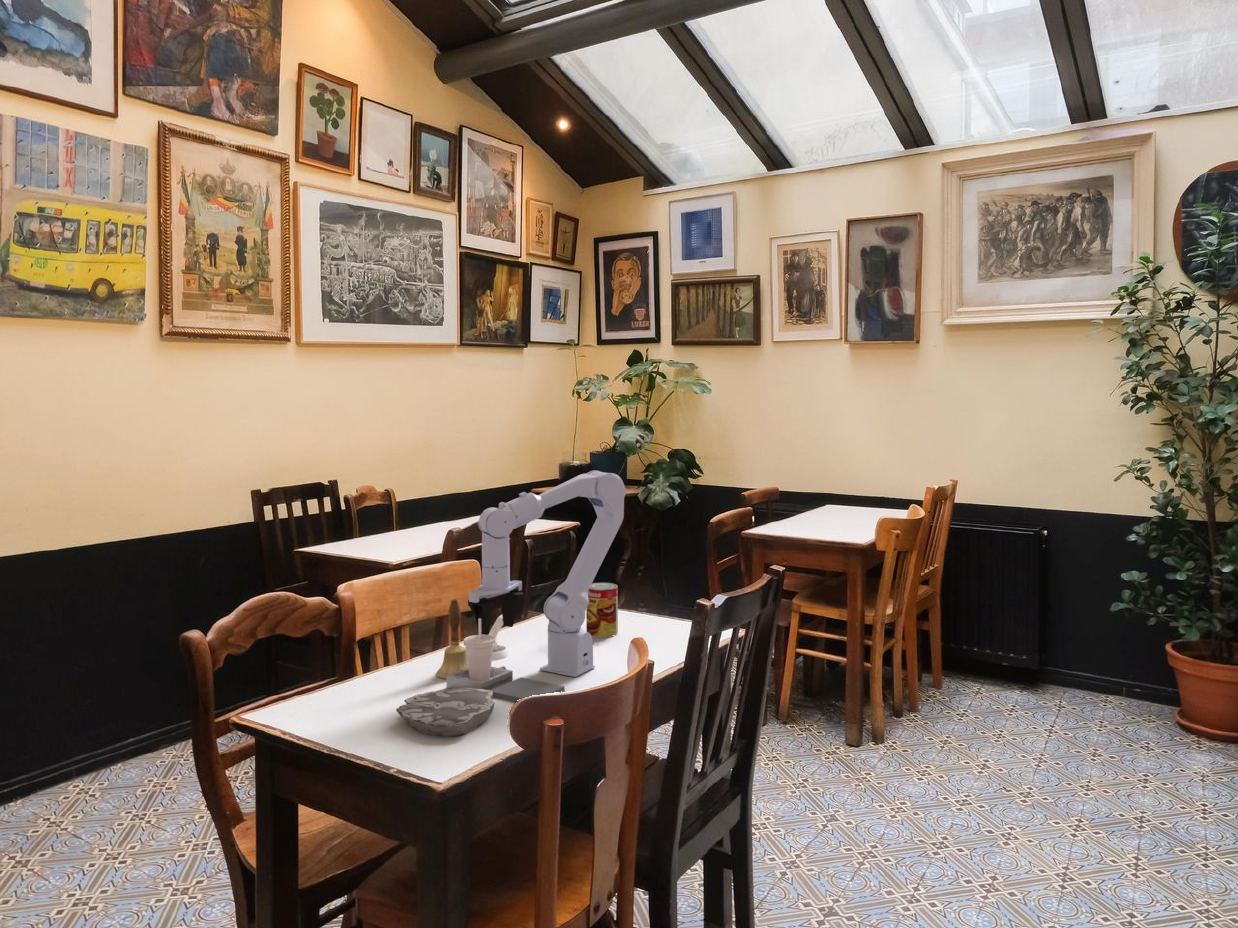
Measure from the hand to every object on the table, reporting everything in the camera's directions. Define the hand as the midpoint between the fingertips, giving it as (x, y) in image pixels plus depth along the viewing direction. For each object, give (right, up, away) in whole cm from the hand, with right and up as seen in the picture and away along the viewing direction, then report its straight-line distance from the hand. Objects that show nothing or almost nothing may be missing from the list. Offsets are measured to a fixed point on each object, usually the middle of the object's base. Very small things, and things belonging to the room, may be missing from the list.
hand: (496, 630), depth 182 cm
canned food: (+21, -8, +37) cm, 43 cm away
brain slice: (-6, -13, -23) cm, 27 cm away
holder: (-2, -11, -2) cm, 11 cm away
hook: (-3, -9, +18) cm, 20 cm away
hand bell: (-9, -10, +4) cm, 15 cm away
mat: (+7, -11, -9) cm, 16 cm away
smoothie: (-3, -11, -4) cm, 12 cm away
